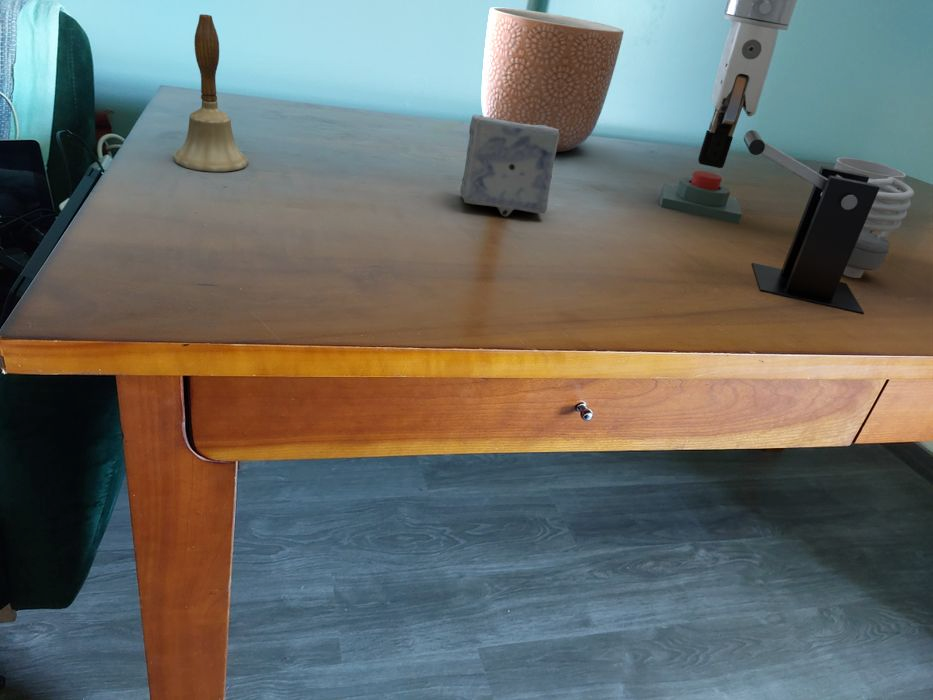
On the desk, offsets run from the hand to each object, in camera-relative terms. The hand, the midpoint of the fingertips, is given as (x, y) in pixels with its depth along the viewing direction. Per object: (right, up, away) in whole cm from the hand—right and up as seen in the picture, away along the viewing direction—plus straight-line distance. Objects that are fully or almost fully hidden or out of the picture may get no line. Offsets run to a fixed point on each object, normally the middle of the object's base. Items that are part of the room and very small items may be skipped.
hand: (710, 164), depth 95 cm
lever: (0, -8, -23) cm, 25 cm away
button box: (-1, -6, +3) cm, 7 cm away
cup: (+18, -10, +2) cm, 20 cm away
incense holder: (-28, -7, -7) cm, 29 cm away
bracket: (+3, -18, -19) cm, 26 cm away
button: (0, -3, +1) cm, 3 cm away
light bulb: (+11, -16, -12) cm, 23 cm away
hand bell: (-62, -2, -8) cm, 62 cm away
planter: (-21, +10, +26) cm, 35 cm away
